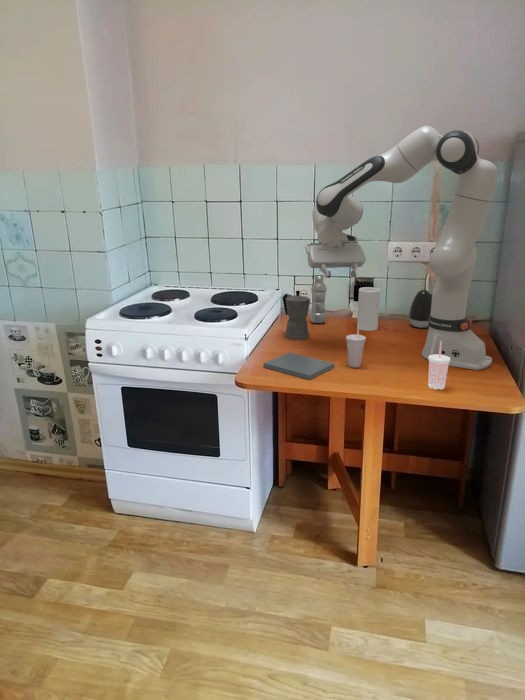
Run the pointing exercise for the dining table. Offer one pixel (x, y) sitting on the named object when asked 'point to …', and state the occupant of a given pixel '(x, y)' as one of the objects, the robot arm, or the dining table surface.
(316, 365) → the slate board
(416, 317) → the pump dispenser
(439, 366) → the beverage cup
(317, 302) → the plastic bottle
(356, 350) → the smoothie
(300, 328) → the coffeepot
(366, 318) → the cup
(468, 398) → the dining table surface
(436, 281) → the robot arm
